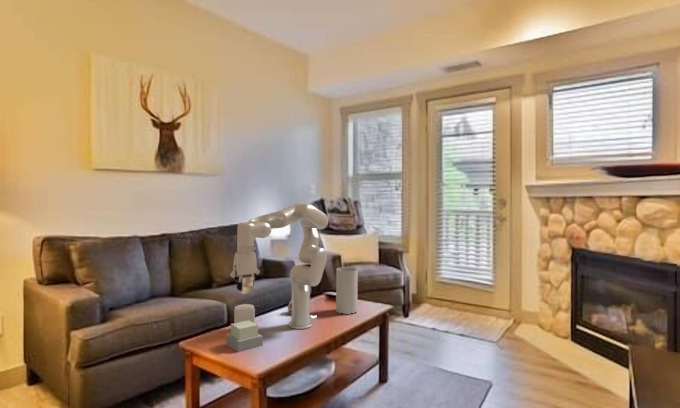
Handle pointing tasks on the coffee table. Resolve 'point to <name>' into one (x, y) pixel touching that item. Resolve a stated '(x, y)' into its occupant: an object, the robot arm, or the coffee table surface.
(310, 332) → the coffee table surface
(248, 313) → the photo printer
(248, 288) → the ash block
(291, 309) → the decorative ornament
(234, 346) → the tower bottom block
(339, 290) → the cylinder vase
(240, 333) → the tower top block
